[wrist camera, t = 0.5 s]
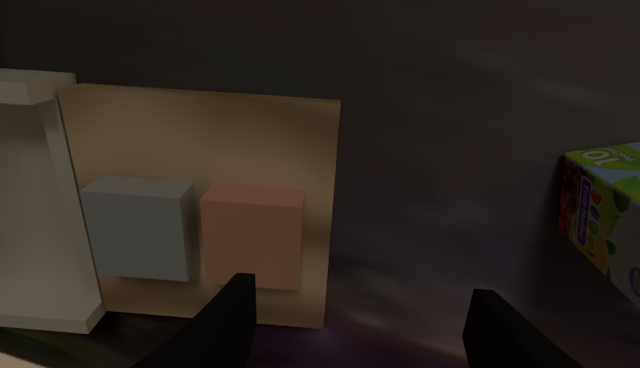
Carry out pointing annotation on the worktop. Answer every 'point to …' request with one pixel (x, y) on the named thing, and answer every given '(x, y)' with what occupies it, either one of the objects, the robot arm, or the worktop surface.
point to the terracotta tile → (253, 234)
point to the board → (211, 176)
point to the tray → (42, 212)
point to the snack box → (605, 211)
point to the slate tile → (142, 227)
